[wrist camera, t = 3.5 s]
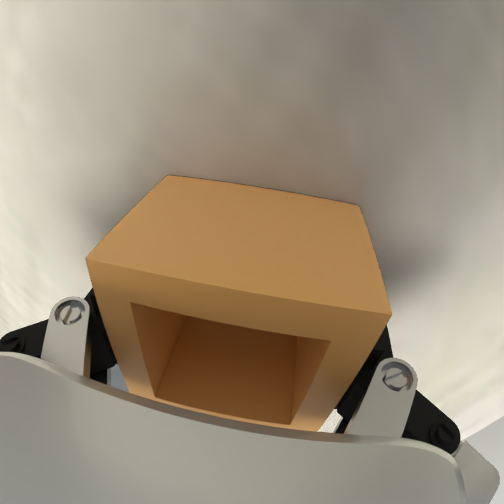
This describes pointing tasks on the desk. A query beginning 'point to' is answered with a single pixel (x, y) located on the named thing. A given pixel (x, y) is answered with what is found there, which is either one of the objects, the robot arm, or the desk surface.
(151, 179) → the desk surface
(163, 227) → the collar
